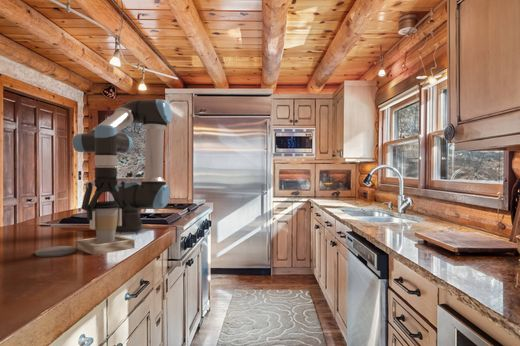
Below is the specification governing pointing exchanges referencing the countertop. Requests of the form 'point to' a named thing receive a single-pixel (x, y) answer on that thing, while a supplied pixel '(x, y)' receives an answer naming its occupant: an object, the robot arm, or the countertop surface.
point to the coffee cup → (106, 221)
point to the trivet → (55, 251)
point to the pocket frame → (104, 245)
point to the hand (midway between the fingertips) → (106, 227)
